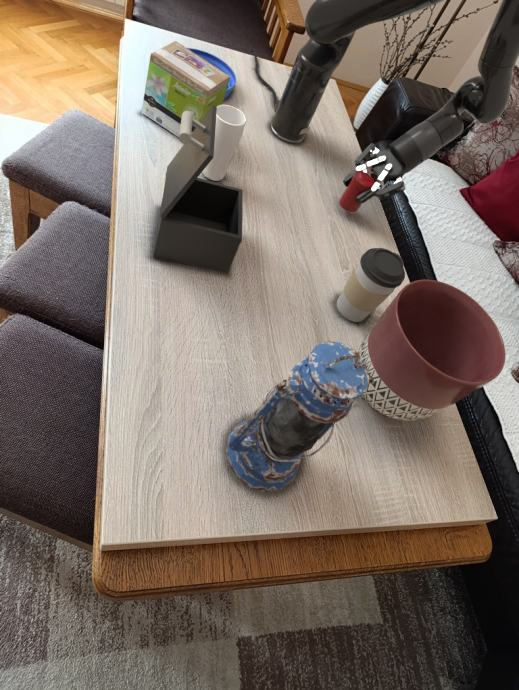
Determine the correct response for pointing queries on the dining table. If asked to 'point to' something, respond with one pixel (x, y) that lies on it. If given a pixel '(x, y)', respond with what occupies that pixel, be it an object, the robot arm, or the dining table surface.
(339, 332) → the dining table surface
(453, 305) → the planter
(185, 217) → the dark box
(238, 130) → the white vase
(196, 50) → the bowl
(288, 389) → the lantern
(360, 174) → the red cup
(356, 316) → the coffee cup
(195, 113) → the tea box
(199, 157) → the box lid
